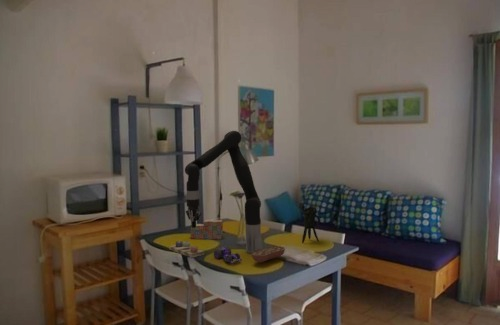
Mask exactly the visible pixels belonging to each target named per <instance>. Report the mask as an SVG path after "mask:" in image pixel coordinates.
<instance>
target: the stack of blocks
mask: <svg viewBox="0 0 500 325" xmlns="http://www.w3.org/2000/svg"><path fill="white" fill-rule="evenodd" d="M223 224H224V223H223V219H204V221H203V223H196V227H195V228H192V227H191V226H190V239H191V240H222V239H223V233H224V232H223V227H224V226H223Z"/></svg>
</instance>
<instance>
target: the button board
mask: <svg viewBox="0 0 500 325" xmlns="http://www.w3.org/2000/svg"><path fill="white" fill-rule="evenodd" d="M190 247H191V246H190ZM190 247H183V246H181V247H176V244H174V245H171V246H169V250H170V251H173V252H175V253H178V254H180V255H183V256H185V257H188V258H190V257H189V256H191V257H193V258H196V257H201V256H204V255H205V251H204V250H203V249H199V248H198V251H197V252H190Z"/></svg>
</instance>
